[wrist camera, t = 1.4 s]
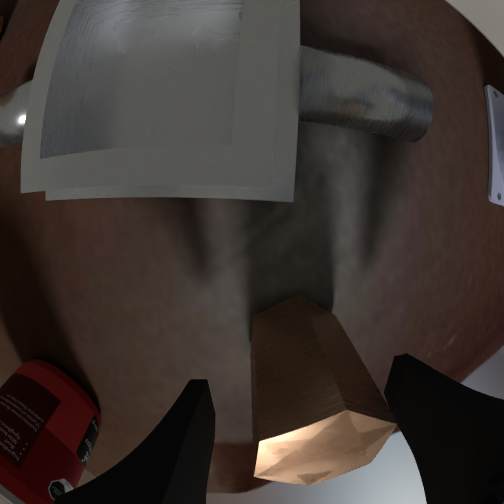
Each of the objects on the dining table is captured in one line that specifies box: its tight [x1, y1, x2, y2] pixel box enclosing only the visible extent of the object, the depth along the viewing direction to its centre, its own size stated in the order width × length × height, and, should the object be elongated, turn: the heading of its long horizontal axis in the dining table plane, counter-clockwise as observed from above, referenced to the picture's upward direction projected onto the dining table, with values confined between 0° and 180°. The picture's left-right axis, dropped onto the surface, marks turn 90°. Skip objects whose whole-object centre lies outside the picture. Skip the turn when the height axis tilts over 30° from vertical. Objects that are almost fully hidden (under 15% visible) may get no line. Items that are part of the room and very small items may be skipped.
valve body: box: [0, 0, 433, 202], centre depth 7 cm, size 20×11×4 cm, turn 87°
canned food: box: [0, 359, 101, 504], centre depth 9 cm, size 8×8×11 cm
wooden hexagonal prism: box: [250, 294, 397, 485], centre depth 9 cm, size 4×5×7 cm
